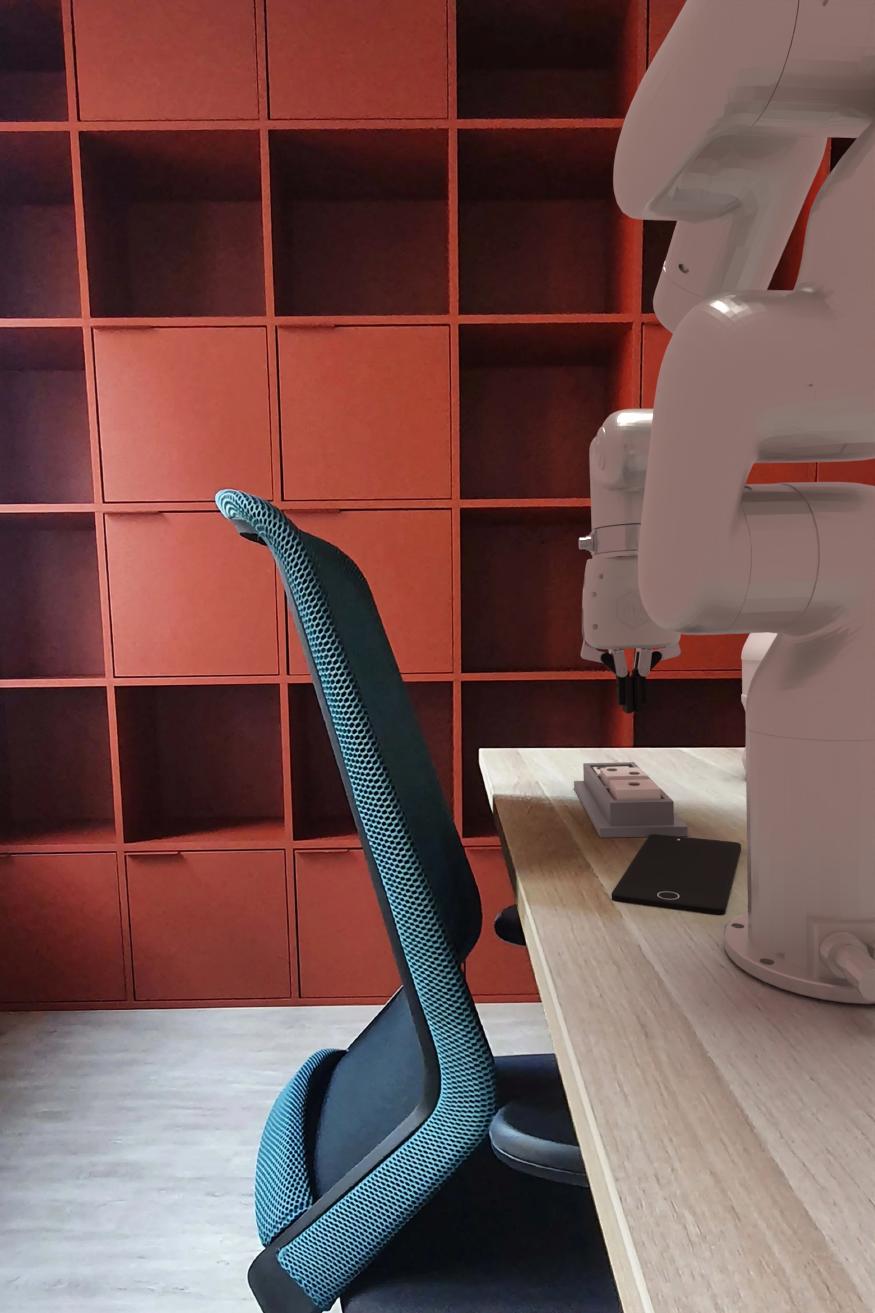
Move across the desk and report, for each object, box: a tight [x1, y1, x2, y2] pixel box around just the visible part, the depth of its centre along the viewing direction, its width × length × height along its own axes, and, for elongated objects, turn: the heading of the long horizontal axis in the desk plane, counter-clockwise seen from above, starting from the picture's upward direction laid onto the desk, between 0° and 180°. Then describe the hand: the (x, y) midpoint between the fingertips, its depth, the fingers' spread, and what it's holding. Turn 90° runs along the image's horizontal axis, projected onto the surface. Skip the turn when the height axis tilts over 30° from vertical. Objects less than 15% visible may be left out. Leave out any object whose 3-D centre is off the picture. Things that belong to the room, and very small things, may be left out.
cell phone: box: [611, 834, 742, 916], centre depth 69 cm, size 9×18×1 cm, turn 154°
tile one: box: [610, 778, 661, 800], centre depth 84 cm, size 5×5×2 cm
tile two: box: [600, 766, 648, 786], centre depth 90 cm, size 5×5×2 cm
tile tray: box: [573, 761, 689, 839], centre depth 90 cm, size 22×9×4 cm, turn 177°
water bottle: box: [740, 632, 778, 772], centre depth 101 cm, size 7×7×25 cm
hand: (631, 711), depth 84 cm, fingers closed
